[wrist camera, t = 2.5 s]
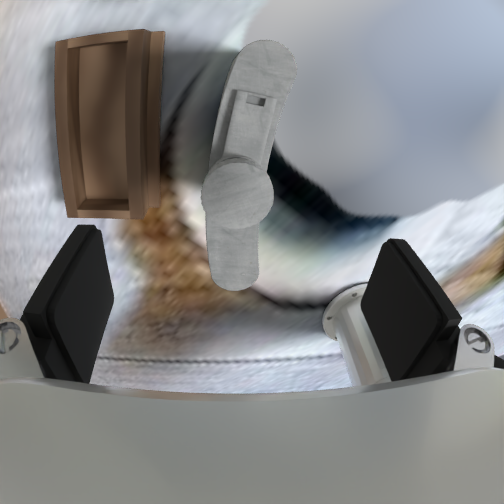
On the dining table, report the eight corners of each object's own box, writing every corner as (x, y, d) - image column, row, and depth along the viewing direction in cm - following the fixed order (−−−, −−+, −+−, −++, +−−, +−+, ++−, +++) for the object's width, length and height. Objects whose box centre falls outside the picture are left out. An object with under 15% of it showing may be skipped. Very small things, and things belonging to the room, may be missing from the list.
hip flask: (243, 192, 36) (258, 318, 20) (208, 188, 36) (193, 314, 19) (264, 54, 28) (314, 43, 11) (225, 50, 27) (219, 28, 11)
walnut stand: (165, 32, 25) (157, 28, 22) (160, 203, 36) (154, 219, 33) (63, 43, 24) (45, 44, 21) (72, 202, 35) (58, 217, 32)
